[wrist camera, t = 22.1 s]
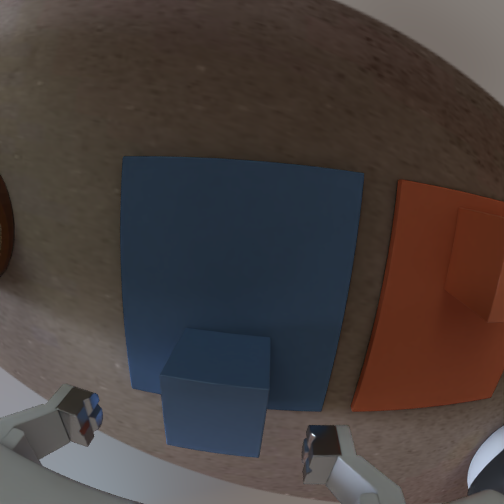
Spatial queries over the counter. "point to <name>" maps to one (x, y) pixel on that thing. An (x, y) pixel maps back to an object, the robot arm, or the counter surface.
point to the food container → (5, 227)
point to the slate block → (216, 392)
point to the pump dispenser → (488, 465)
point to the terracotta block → (478, 264)
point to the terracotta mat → (427, 313)
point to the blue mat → (238, 263)
